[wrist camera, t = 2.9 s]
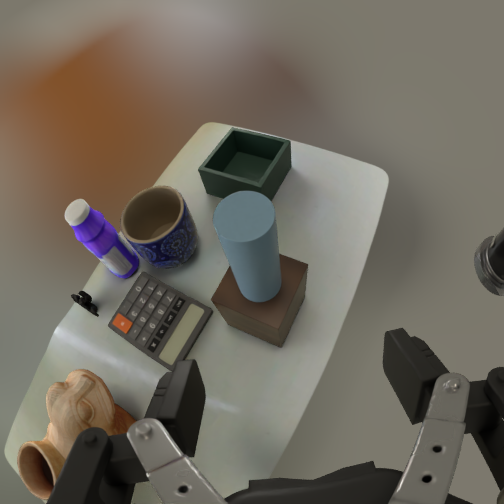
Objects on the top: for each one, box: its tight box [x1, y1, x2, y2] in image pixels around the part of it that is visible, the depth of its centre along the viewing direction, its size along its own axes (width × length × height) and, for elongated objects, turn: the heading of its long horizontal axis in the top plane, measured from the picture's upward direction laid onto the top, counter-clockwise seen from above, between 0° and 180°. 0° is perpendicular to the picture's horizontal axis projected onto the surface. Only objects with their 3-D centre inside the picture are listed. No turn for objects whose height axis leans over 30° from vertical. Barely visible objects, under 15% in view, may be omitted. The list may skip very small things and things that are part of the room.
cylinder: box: [213, 191, 281, 302], centre depth 32 cm, size 5×5×14 cm
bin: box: [198, 127, 291, 201], centre depth 57 cm, size 13×13×7 cm
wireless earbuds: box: [71, 291, 99, 317], centre depth 49 cm, size 7×2×5 cm, turn 65°
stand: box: [211, 254, 308, 347], centre depth 43 cm, size 9×9×11 cm
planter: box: [120, 186, 198, 269], centre depth 50 cm, size 11×11×11 cm
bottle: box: [65, 199, 139, 278], centre depth 47 cm, size 7×6×17 cm
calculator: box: [108, 272, 213, 372], centre depth 48 cm, size 12×1×15 cm
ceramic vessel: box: [17, 369, 136, 500], centre depth 32 cm, size 14×26×15 cm, turn 153°
